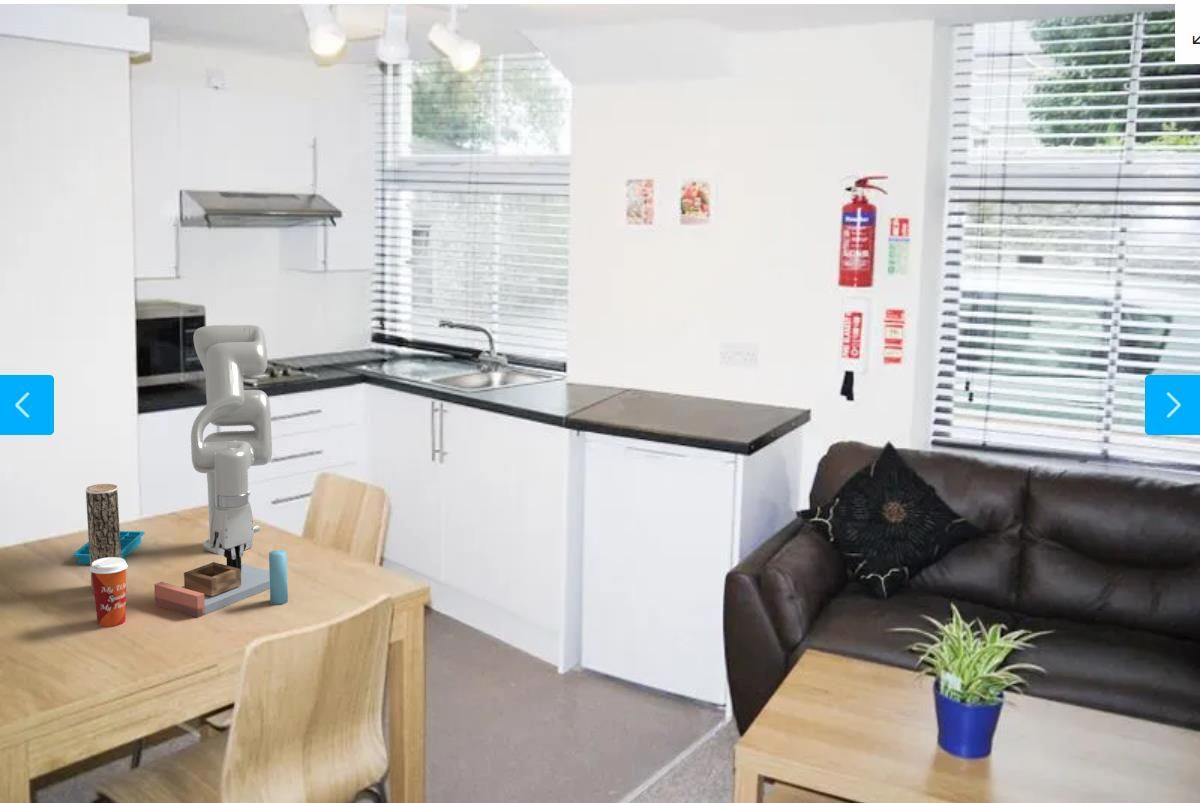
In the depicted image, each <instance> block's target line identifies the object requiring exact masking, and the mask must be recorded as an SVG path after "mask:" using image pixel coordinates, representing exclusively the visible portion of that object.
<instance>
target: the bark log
mask: <svg viewBox="0 0 1200 803" xmlns="http://www.w3.org/2000/svg"><path fill="white" fill-rule="evenodd" d="M85 500H86V502H85V503H86V517H87V535H88V536H87V537H88V542H89V555H90V564H89V569H90V568H91V565H92V563H93V562H94V561H96V560H98V559H102V558H108V557H118V558H121V550H120V531H121V530H120V516H119V514H120V512H119V495H118V486H117V485H116V484H113V483H112V484H111V483H99V484H92V485H90V486H87V487H85ZM89 572H90V584H91V586H90V587H91V589H92V590H93V591H94V588H93V580H92V572H91V571H90V570H89Z"/></svg>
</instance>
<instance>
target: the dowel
mask: <svg viewBox="0 0 1200 803" xmlns="http://www.w3.org/2000/svg"><path fill="white" fill-rule="evenodd" d="M268 562H269V563H268V564H269V565H268V568H269V569H268V571H269V572H270V589H269V602H270V604H271V605H274V606H275V605H278V606H279V605H284V604H287V603H288V602H289V595H288V594H289V592H288V584H289V583H288V552H287V551H286V550H282V549H276V550H272V551H270V552H268Z"/></svg>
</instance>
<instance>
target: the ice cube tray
mask: <svg viewBox="0 0 1200 803" xmlns="http://www.w3.org/2000/svg"><path fill="white" fill-rule="evenodd" d="M144 535H145V531H141V530H138V531H137V530H120V550H121V558H122V559H124V560H125V558H126V557H127V556H128V555H130V553H132V552H133V551H134V550H135V549H136V548H137V547H139V545H141V543H142V537H143V536H144ZM73 556H74V557H77V562H78V564H79V565H90V555H89V541H88V542H85V544H83V545H82V546H81V547H79V549H77V550H76V551H74V553H73Z"/></svg>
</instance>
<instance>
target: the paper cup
mask: <svg viewBox="0 0 1200 803" xmlns="http://www.w3.org/2000/svg"><path fill="white" fill-rule="evenodd" d="M128 566H129V565H128V564H127V562H126V559H125V558H124V559H122V558H118V557H108V558H102V559H98V560H96V561H94V562H93V563H92V565H91V568H90V567H89V572H90V571H91V572H92V580H93V588H94V590H93V594H94V604H95V611H96V619H97V624H98V626H99V627H104V628H107V627H108V628H111V627H116V626H120V625H122V624H124V623H126V610H127V607H126V606H127V568H128Z"/></svg>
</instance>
